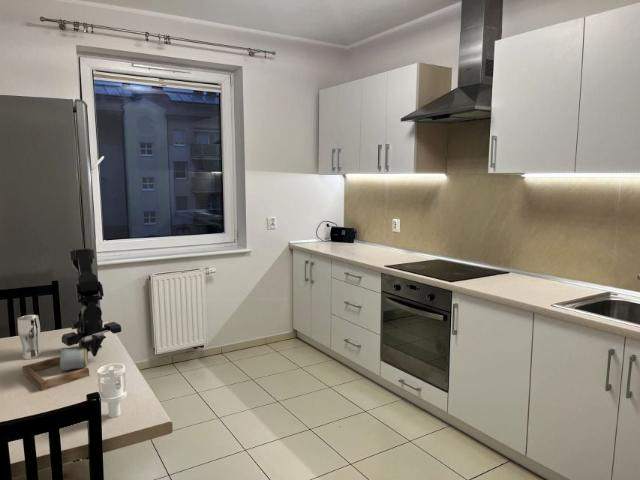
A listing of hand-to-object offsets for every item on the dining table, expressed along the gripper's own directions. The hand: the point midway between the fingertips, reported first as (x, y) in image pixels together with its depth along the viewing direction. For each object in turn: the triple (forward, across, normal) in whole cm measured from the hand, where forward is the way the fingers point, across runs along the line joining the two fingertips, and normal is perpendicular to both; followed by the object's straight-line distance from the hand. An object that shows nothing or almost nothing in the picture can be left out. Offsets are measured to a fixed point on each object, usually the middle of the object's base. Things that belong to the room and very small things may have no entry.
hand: (94, 356), depth 168 cm
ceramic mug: (+3, +6, -2) cm, 7 cm away
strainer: (+3, +12, +41) cm, 42 cm away
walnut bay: (+2, +12, 0) cm, 12 cm away
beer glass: (+3, +13, -24) cm, 28 cm away
